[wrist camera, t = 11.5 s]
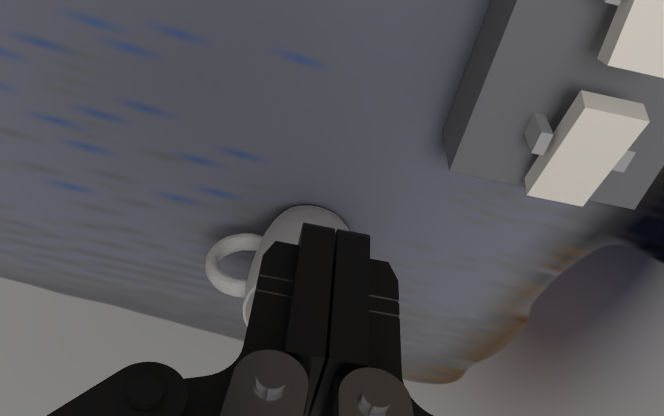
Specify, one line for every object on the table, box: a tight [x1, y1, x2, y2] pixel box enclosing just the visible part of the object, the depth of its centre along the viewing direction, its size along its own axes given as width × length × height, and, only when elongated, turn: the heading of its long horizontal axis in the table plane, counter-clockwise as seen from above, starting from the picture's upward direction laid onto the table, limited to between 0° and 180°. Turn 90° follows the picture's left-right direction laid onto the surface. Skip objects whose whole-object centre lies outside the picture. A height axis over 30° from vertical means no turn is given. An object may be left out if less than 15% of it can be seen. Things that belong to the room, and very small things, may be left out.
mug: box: [206, 205, 349, 327], centre depth 52 cm, size 13×9×10 cm
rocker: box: [525, 90, 650, 207], centre depth 40 cm, size 8×4×2 cm, turn 168°
